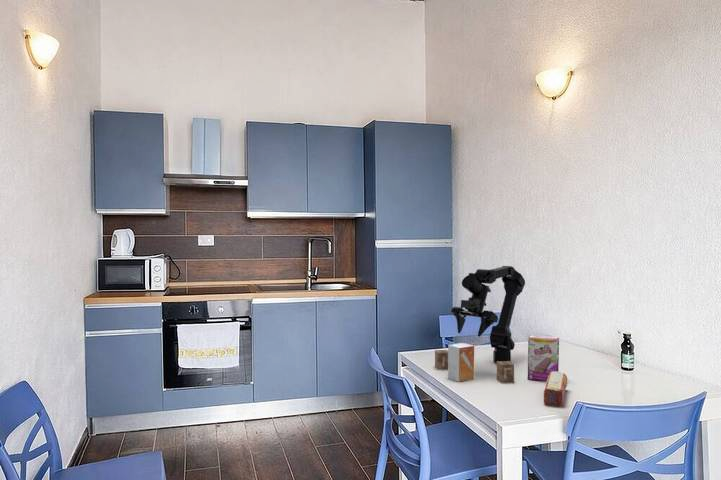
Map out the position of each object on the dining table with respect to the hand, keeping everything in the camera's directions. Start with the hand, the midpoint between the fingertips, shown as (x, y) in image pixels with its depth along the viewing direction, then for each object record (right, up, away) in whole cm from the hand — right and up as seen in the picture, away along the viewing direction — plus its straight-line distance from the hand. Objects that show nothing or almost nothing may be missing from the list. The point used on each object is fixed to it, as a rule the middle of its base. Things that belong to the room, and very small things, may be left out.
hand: (468, 334), depth 210 cm
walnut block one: (-9, -16, +10) cm, 20 cm away
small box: (-4, -16, -6) cm, 18 cm away
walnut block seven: (+12, -16, -9) cm, 22 cm away
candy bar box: (+27, -16, -7) cm, 32 cm away
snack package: (+24, -17, -29) cm, 41 cm away
